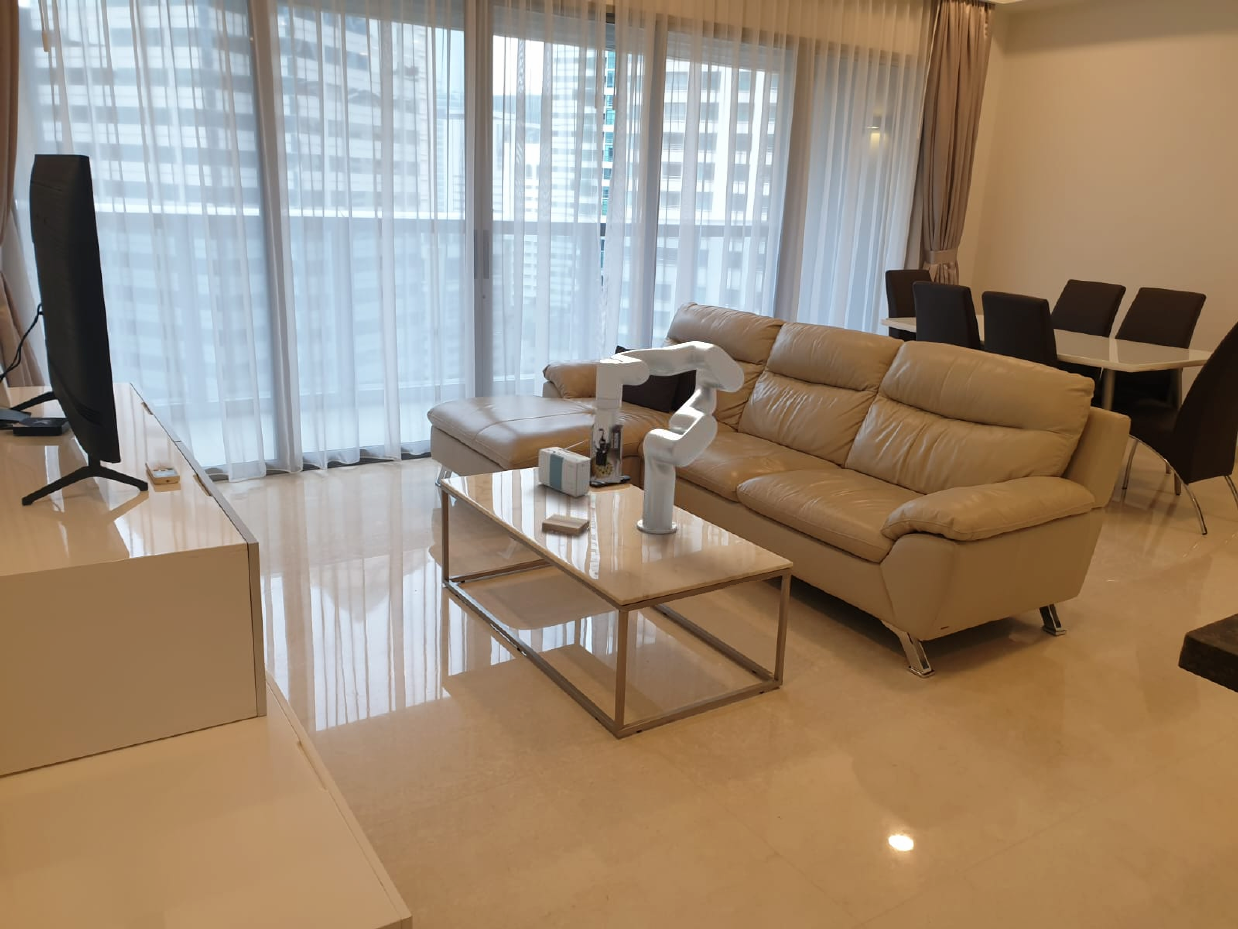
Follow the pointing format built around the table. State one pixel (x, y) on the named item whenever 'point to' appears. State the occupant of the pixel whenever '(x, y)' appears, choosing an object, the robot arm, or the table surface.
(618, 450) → the coffee box
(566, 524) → the flat wooden block
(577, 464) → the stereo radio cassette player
